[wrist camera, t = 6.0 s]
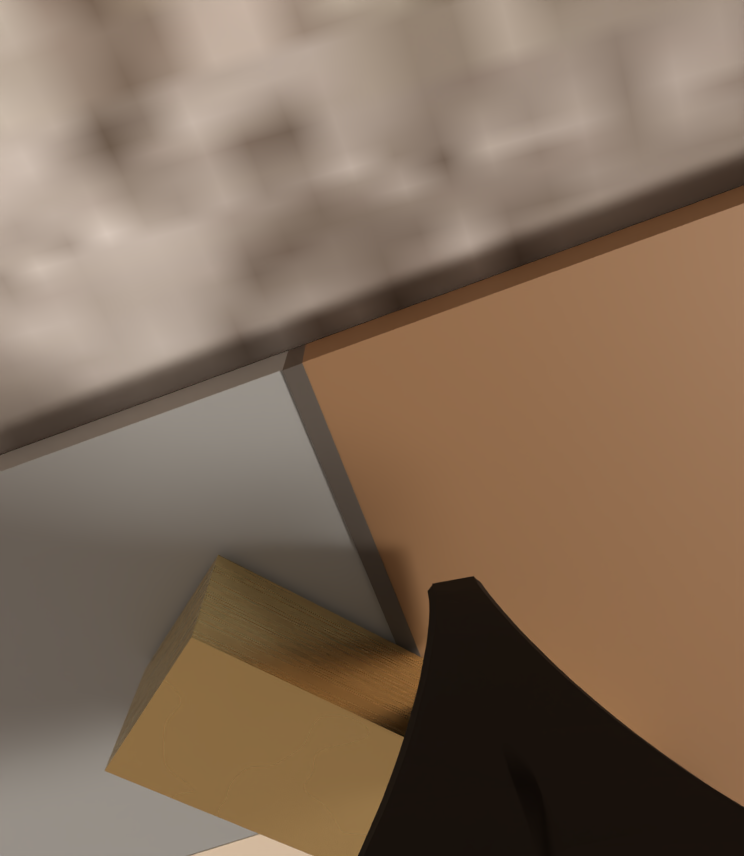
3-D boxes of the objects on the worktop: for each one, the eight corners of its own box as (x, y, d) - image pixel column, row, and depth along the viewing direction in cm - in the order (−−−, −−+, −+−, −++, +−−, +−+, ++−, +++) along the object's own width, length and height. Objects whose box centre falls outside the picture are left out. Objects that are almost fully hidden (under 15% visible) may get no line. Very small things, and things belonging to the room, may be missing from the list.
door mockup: (1170, 946, 17) (1232, 1002, 16) (157, 1219, 19) (145, 1287, 18) (1275, -8, 9) (1407, -36, 8) (-410, 603, 11) (-494, 650, 10)
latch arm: (761, 816, 13) (844, 939, 11) (659, 912, 13) (718, 1044, 11) (226, 542, 10) (197, 632, 8) (137, 681, 11) (91, 795, 9)
